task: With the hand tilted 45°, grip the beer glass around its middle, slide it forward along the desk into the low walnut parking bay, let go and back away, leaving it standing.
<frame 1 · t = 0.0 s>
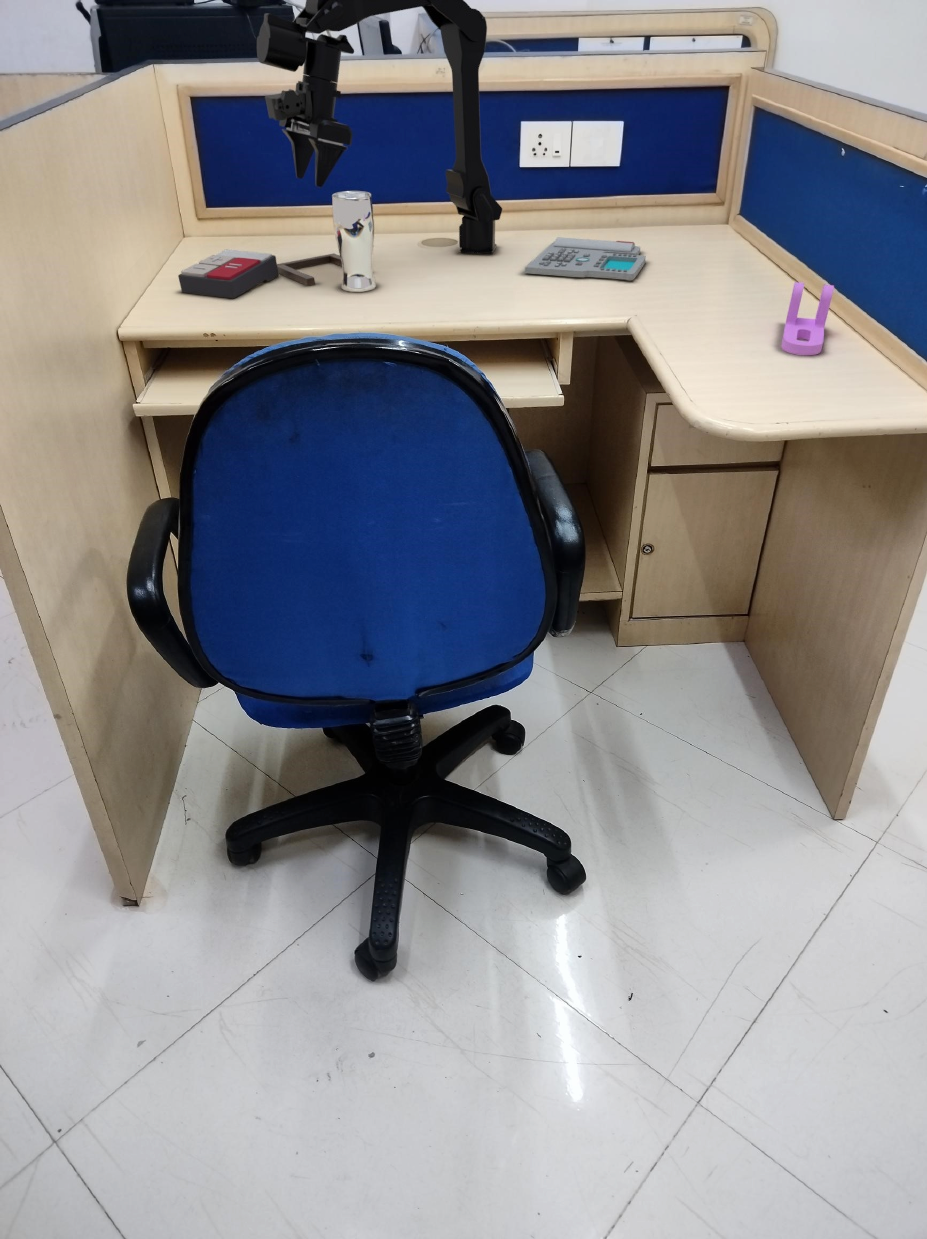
hand: (308, 182, 148), 15 cm above the table, tool pointing down, fingers open, 9 cm apart
office telephone: (590, 264, 162), on the table
bracket: (801, 341, 127), on the table
bay: (321, 272, 158), on the table
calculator: (231, 285, 152), on the table
beer glass: (358, 288, 150), on the table
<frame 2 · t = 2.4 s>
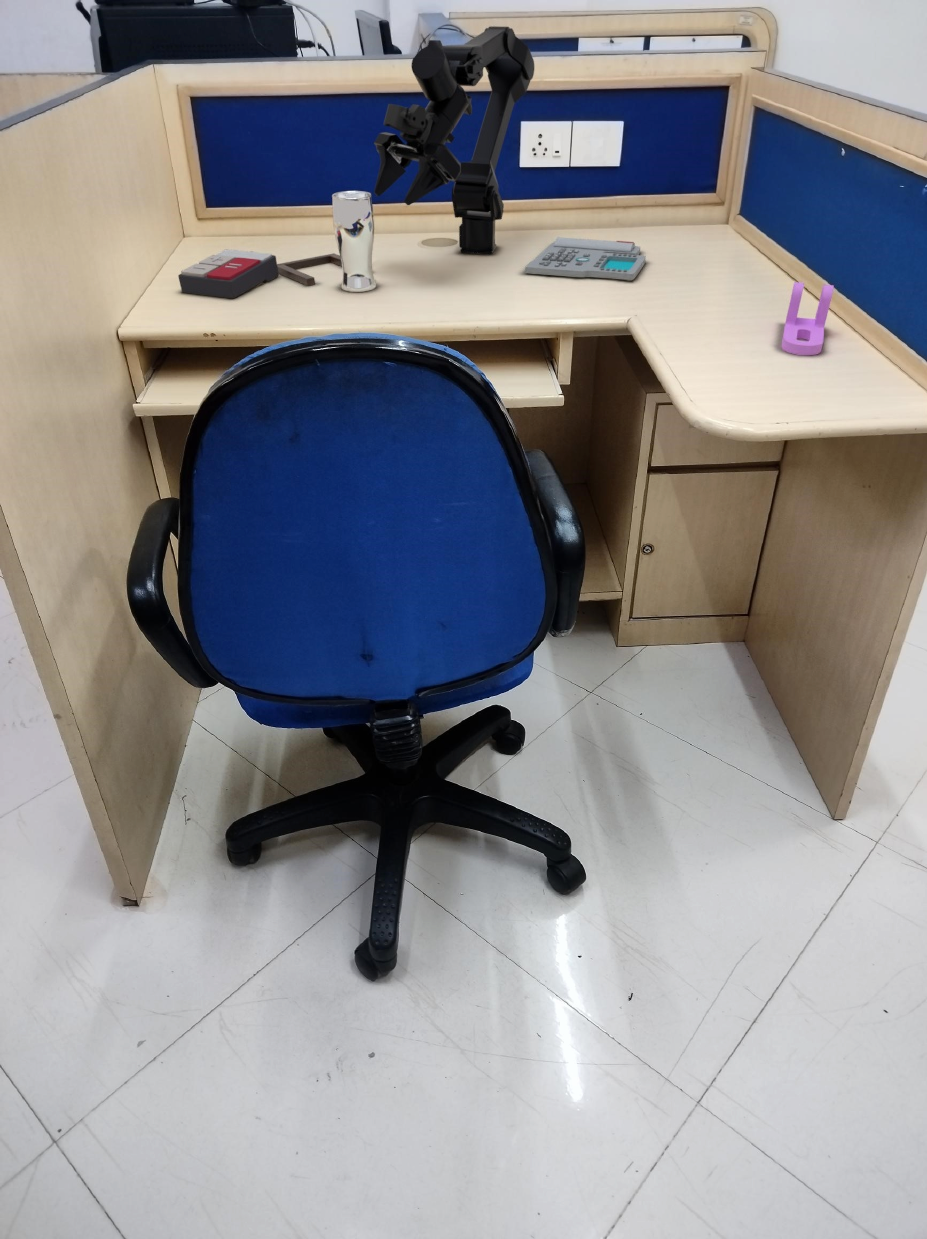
hand: (390, 198, 146), 13 cm above the table, tool tilted 45°, fingers open, 9 cm apart
nothing on the table moved.
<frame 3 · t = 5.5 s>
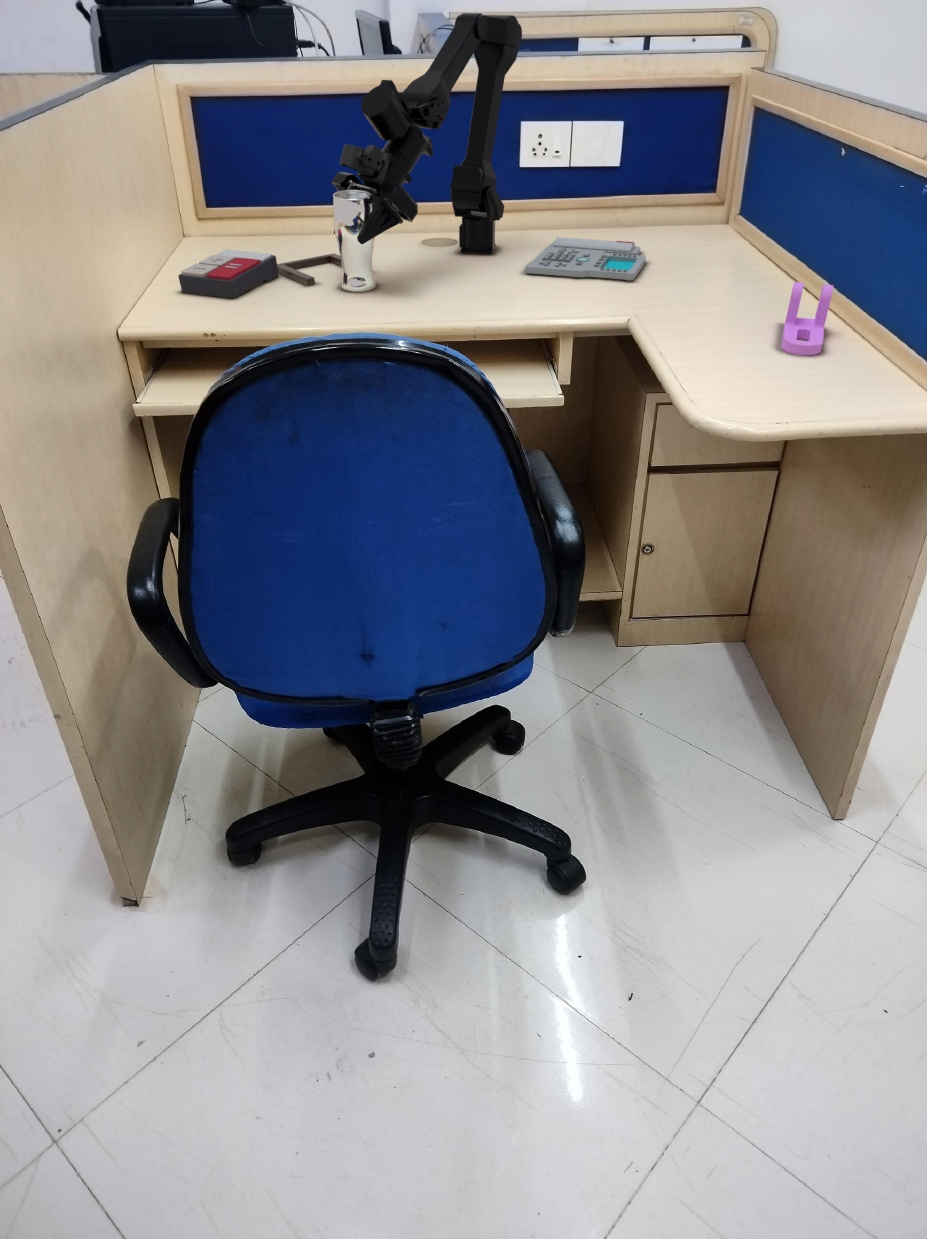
hand: (347, 238, 144), 8 cm above the table, tool tilted 45°, fingers closed on beer glass, 7 cm apart
beer glass: (358, 287, 150), on the table, touching gripper
everything else where it was.
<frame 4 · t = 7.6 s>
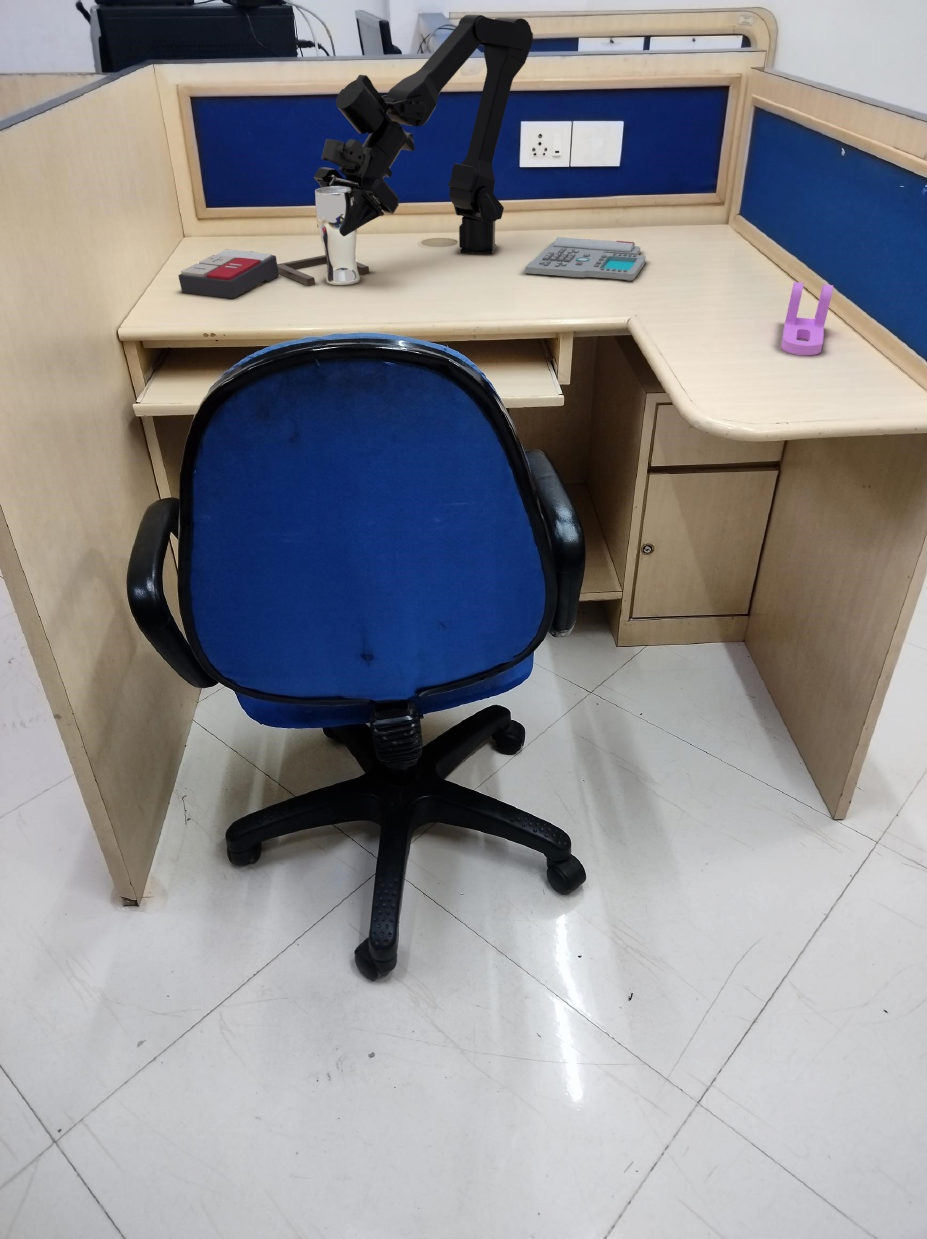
hand: (330, 231, 147), 9 cm above the table, tool tilted 45°, fingers closed on beer glass, 7 cm apart
beer glass: (343, 281, 154), on the table, touching gripper
everything else where it was.
when the fingers open (9 cm above the table, at t = 9.9 s): beer glass stays where it is, on the table.
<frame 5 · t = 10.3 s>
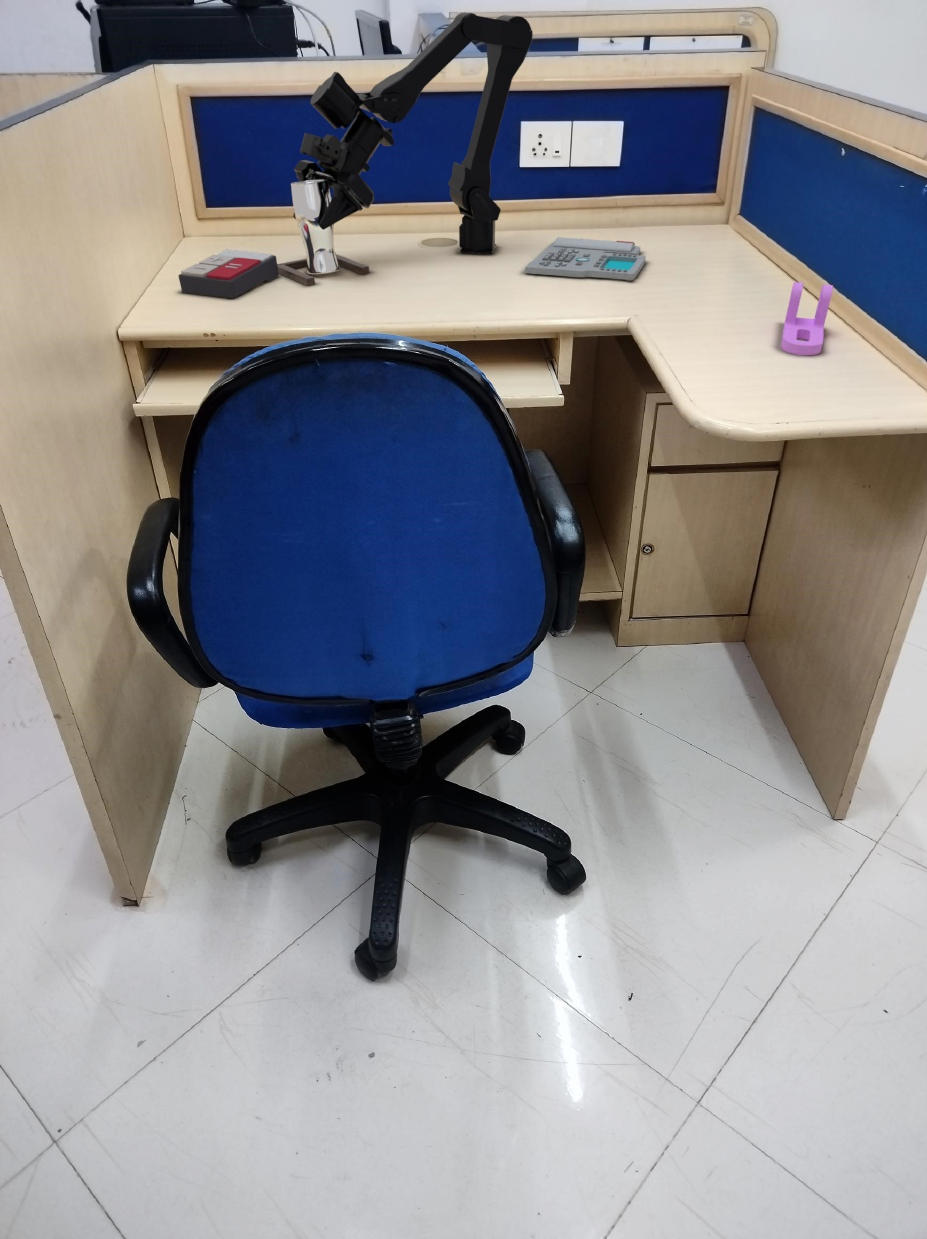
hand: (307, 223, 152), 9 cm above the table, tool tilted 45°, fingers open, 9 cm apart
beer glass: (323, 272, 157), on the table, touching gripper
everything else where it was.
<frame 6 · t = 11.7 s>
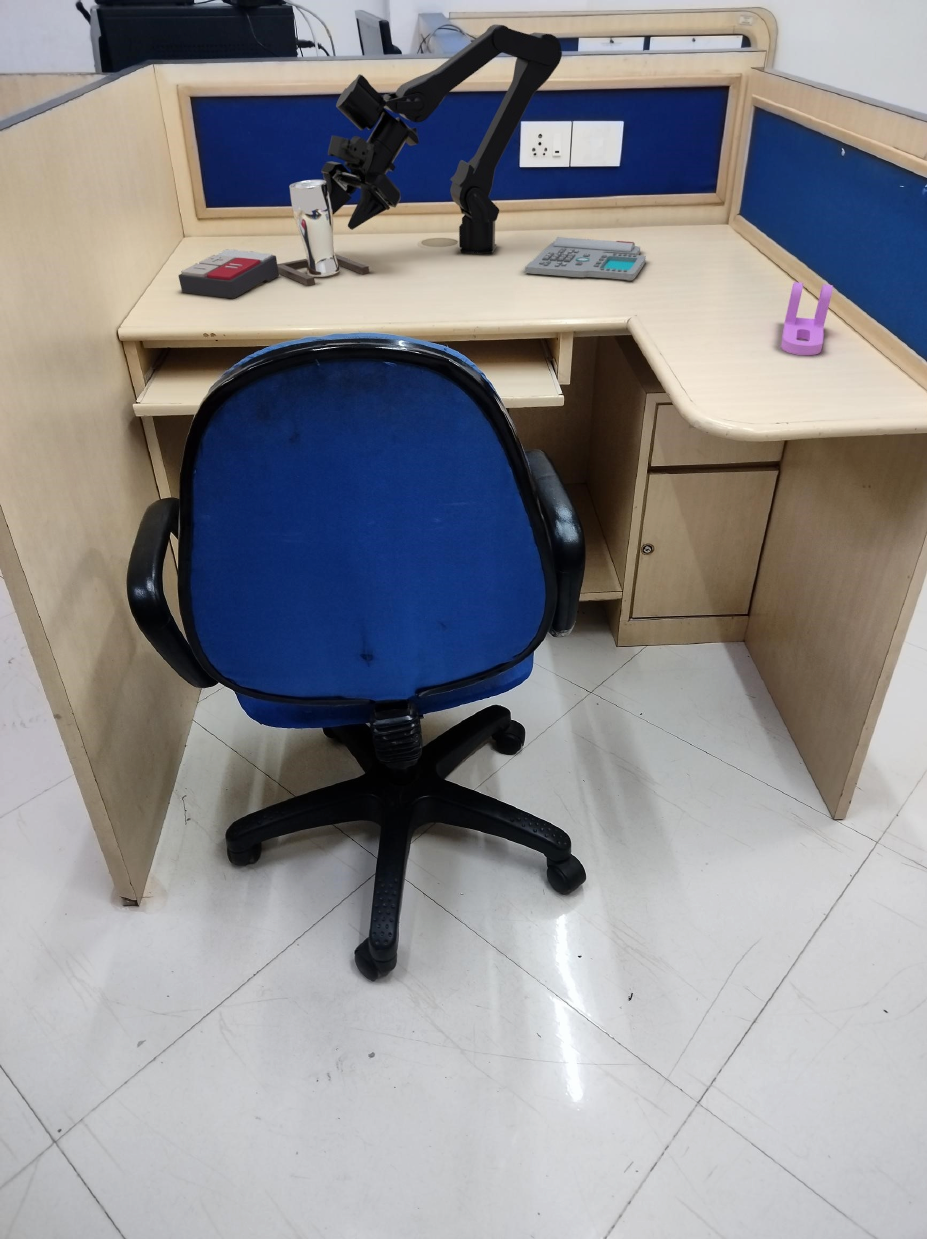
hand: (336, 223, 155), 8 cm above the table, tool tilted 45°, fingers open, 9 cm apart
beer glass: (323, 273, 157), on the table
everything else where it was.
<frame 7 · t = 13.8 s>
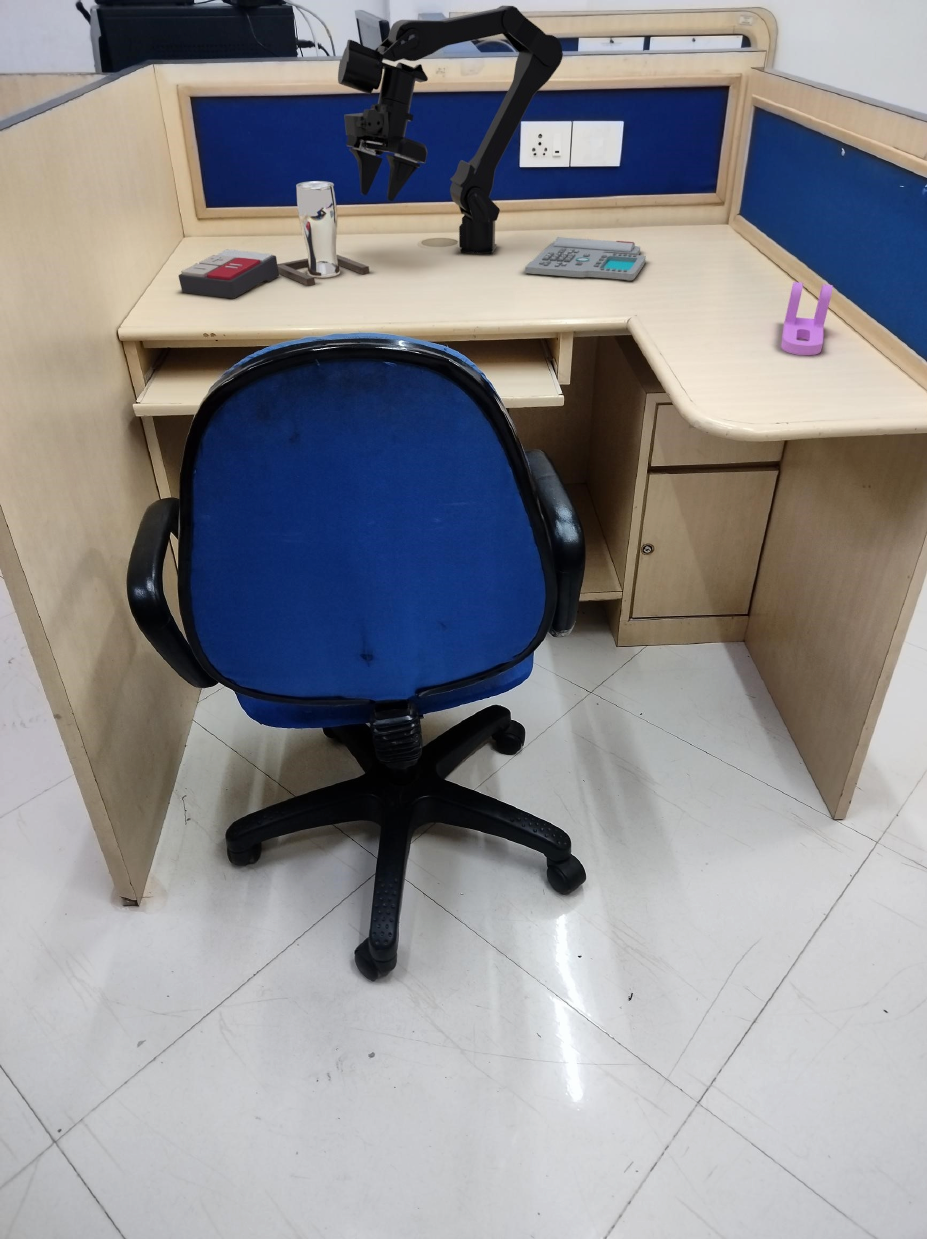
hand: (376, 197, 156), 11 cm above the table, tool tilted 20°, fingers open, 9 cm apart
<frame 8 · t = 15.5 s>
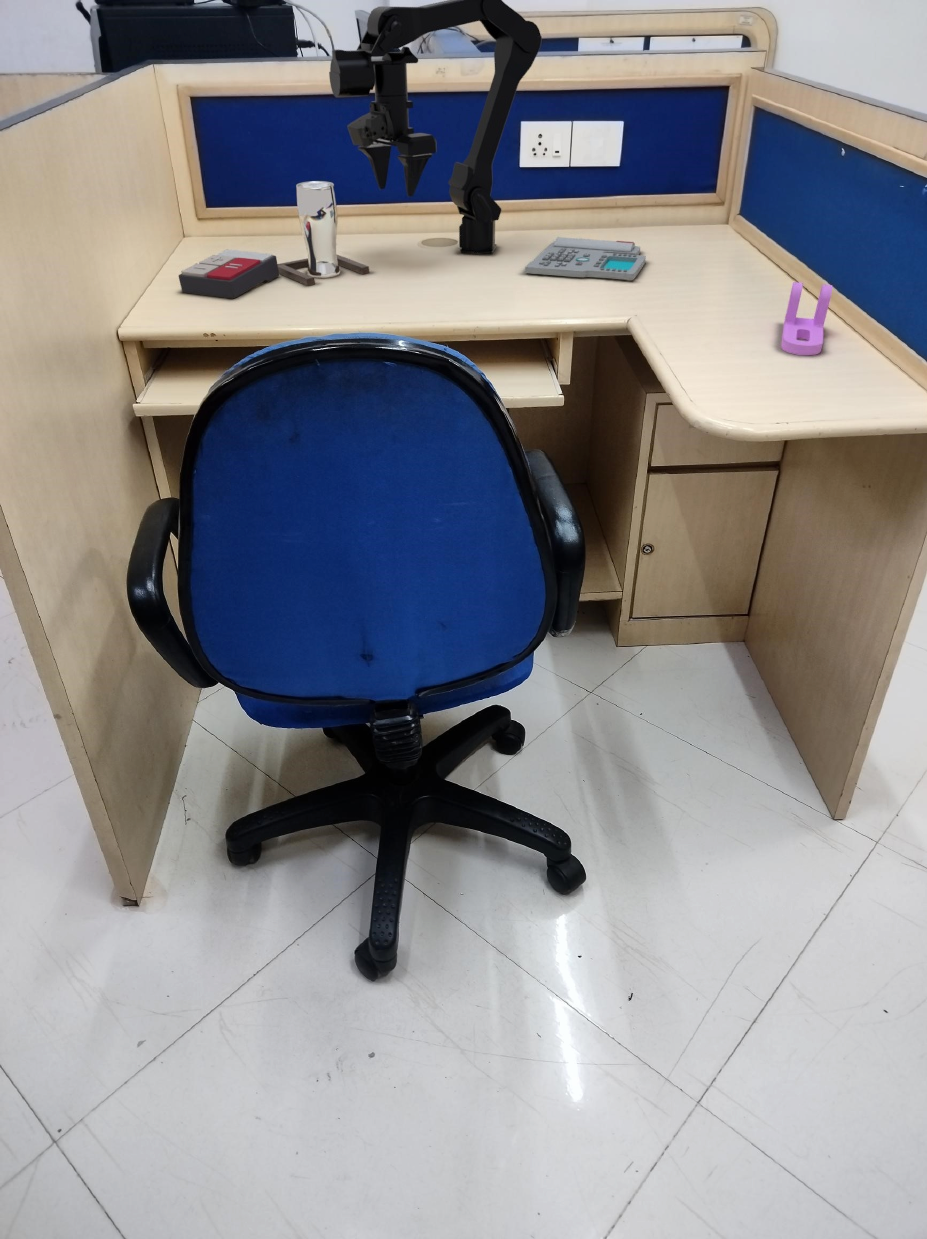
hand: (396, 192, 157), 12 cm above the table, tool pointing down, fingers open, 9 cm apart
nothing on the table moved.
at the end: beer glass 1.1 cm from the bay (horizontally); beer glass tilted 0°; beer glass moved 11.7 cm from its start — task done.
